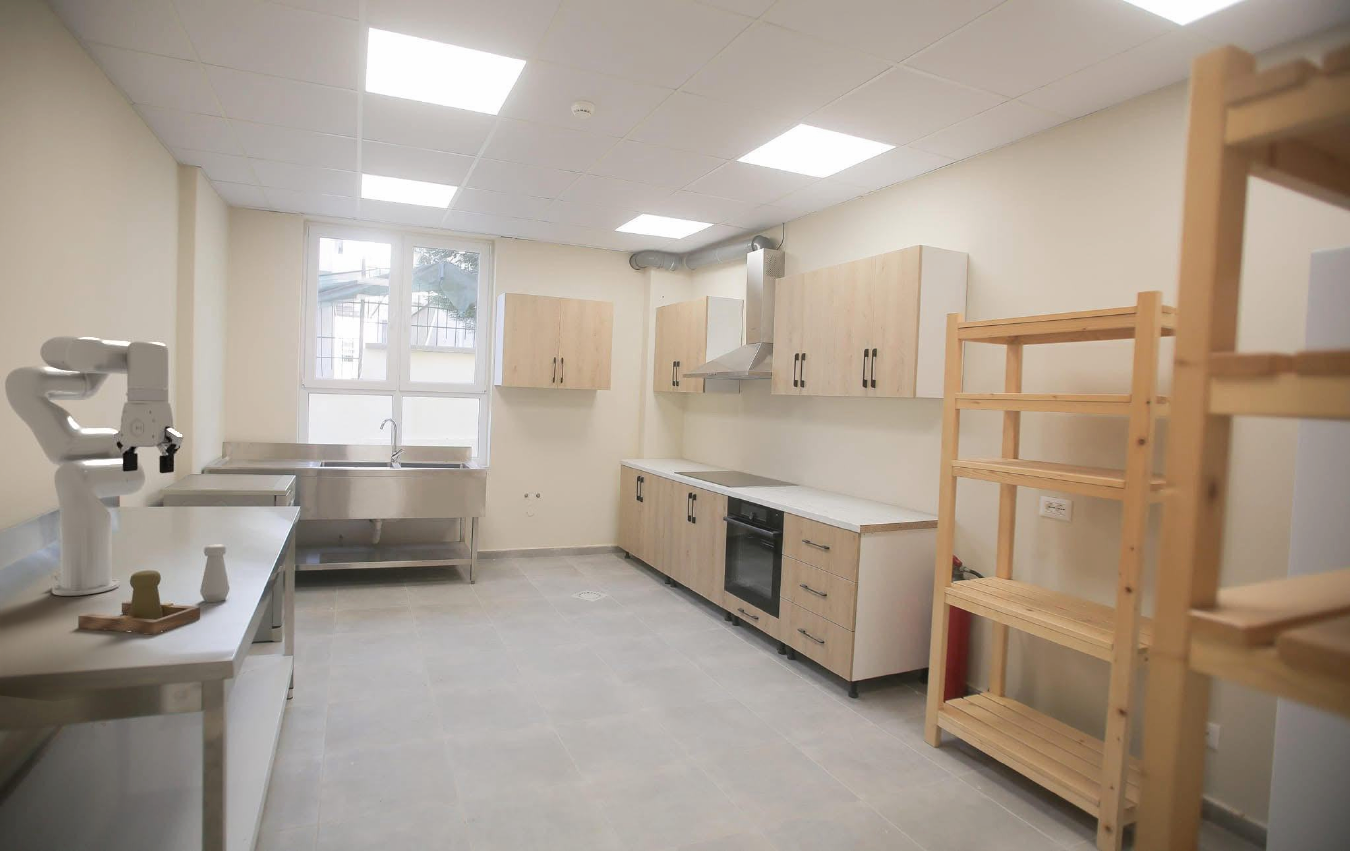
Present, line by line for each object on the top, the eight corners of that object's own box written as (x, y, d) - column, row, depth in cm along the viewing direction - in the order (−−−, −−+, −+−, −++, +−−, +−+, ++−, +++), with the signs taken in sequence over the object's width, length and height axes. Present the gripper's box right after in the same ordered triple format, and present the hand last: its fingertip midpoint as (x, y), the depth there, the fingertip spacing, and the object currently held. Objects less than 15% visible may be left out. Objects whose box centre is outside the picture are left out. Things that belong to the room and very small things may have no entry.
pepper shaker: (139, 619, 152) (139, 568, 152) (169, 618, 153) (169, 567, 153) (120, 628, 146) (120, 574, 146) (151, 627, 147) (151, 574, 147)
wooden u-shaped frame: (78, 627, 146) (78, 614, 146) (128, 612, 157) (128, 599, 157) (154, 634, 143) (154, 620, 143) (200, 618, 154) (200, 605, 154)
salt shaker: (214, 604, 164) (214, 548, 163) (193, 602, 165) (193, 546, 165) (235, 597, 170) (235, 543, 169) (214, 595, 171) (214, 541, 170)
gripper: (99, 395, 160) (100, 471, 160) (166, 397, 157) (166, 475, 157) (130, 396, 167) (131, 468, 168) (195, 397, 164) (195, 471, 165)
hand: (148, 471), depth 162 cm, fingers open, 9 cm apart
